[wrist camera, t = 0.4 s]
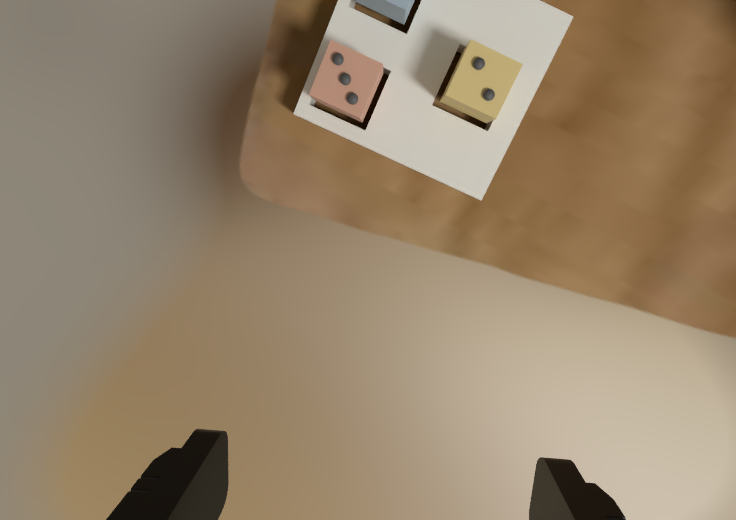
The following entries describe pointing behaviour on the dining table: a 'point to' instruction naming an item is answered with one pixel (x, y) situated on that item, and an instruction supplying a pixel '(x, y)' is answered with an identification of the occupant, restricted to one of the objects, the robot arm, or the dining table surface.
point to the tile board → (425, 75)
